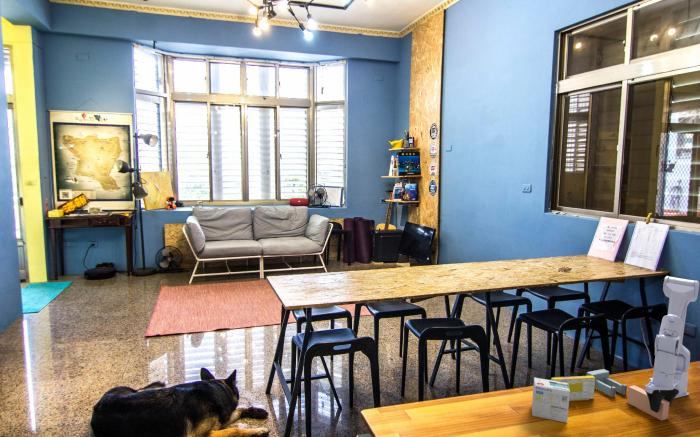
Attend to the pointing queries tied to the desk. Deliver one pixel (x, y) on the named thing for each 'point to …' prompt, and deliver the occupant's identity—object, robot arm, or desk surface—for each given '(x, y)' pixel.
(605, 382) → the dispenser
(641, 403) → the salmon pink block
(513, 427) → the desk surface
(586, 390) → the candy box
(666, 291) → the robot arm
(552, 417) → the light bulb box
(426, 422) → the desk surface
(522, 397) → the desk surface
